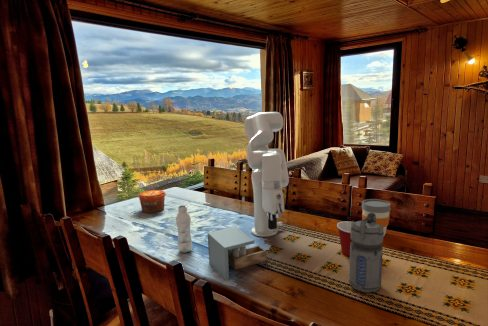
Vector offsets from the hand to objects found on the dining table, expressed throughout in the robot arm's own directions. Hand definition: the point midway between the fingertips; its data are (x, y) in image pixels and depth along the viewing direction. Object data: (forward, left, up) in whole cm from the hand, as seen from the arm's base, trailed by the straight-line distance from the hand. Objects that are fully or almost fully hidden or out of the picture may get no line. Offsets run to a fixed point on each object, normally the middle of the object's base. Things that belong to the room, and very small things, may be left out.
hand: (272, 228), depth 135 cm
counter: (+19, 0, -12) cm, 22 cm away
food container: (+29, -88, -12) cm, 94 cm away
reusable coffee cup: (-53, +6, -12) cm, 55 cm away
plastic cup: (-28, +15, -12) cm, 34 cm away
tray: (+12, -1, -12) cm, 17 cm away
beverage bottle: (-15, +35, -12) cm, 40 cm away
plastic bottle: (+30, -23, -12) cm, 40 cm away
